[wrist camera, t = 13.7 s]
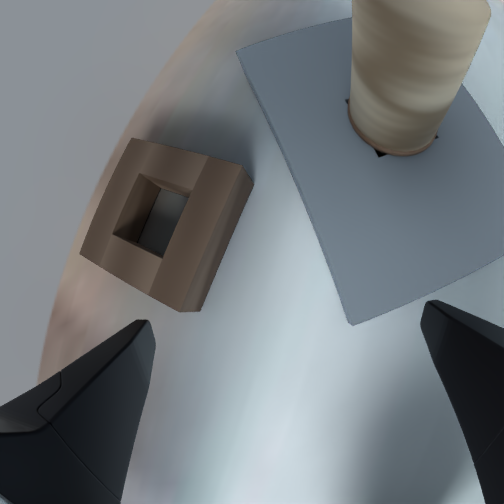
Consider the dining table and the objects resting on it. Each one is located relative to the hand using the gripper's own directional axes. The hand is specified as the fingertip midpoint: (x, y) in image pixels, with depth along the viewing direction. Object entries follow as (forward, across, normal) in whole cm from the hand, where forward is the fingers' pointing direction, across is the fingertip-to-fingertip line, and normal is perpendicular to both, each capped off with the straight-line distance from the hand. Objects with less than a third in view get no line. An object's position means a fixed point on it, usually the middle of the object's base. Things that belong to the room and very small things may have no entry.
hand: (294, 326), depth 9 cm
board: (+12, -8, -5) cm, 16 cm away
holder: (+13, +7, 0) cm, 14 cm away
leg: (+12, -8, -5) cm, 16 cm away
